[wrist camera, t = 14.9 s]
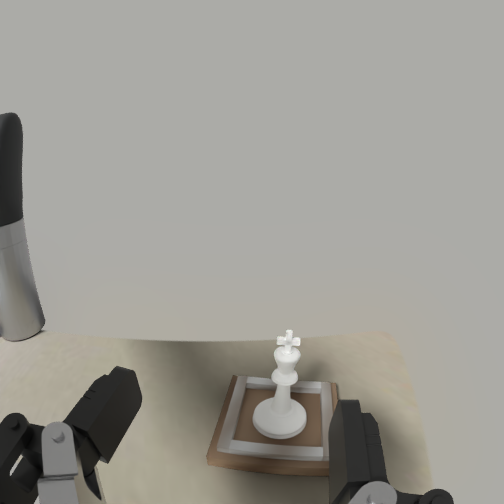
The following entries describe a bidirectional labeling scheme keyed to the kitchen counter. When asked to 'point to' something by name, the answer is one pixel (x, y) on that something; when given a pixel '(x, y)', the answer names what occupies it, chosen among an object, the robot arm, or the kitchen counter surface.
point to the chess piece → (282, 395)
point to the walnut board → (268, 449)
